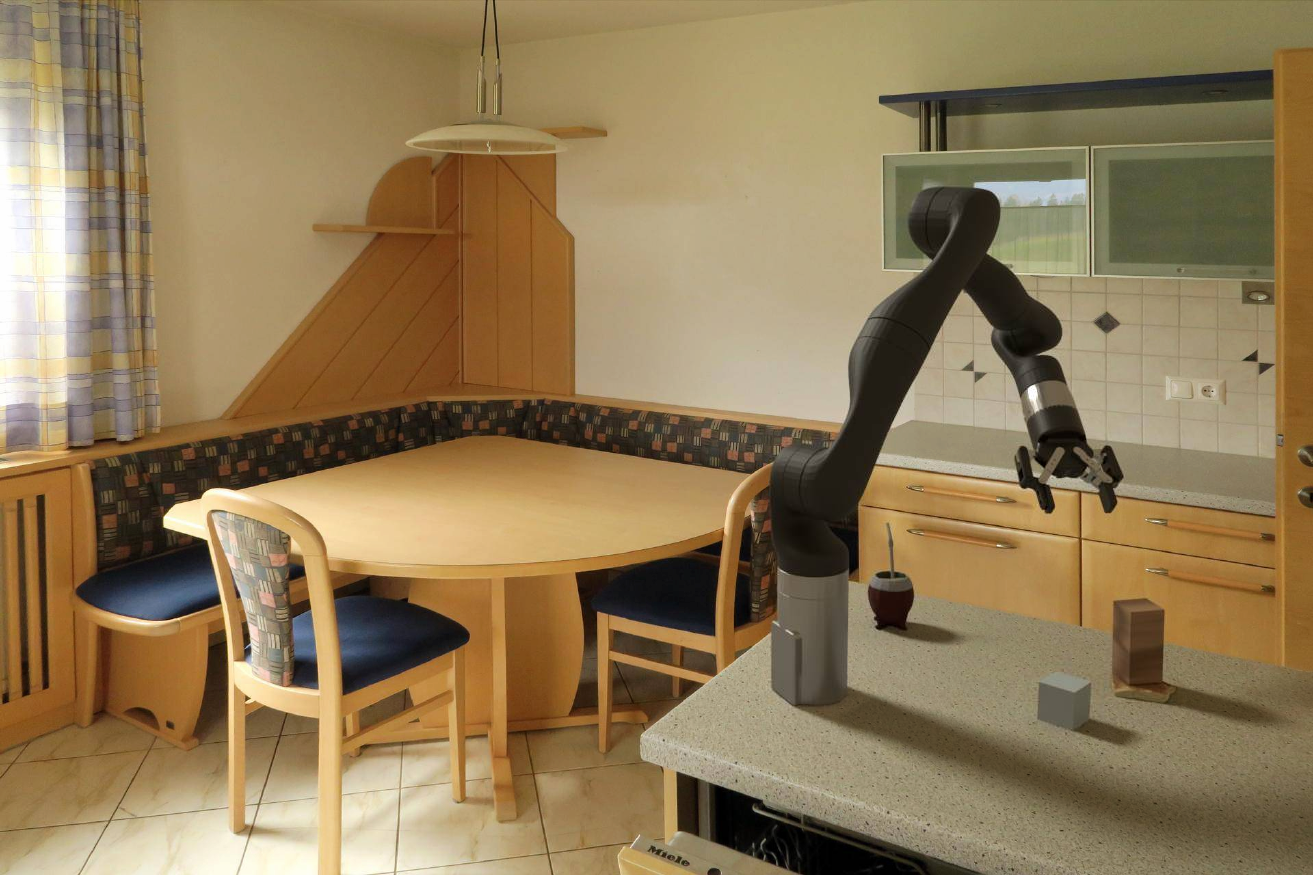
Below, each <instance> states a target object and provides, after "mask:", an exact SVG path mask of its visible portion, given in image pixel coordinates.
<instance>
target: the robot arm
mask: <svg viewBox="0 0 1313 875" xmlns="http://www.w3.org/2000/svg"><path fill="white" fill-rule="evenodd" d="M999 200H1000V199H999V198H998V196H997V195H996V194H995V193H994V192H992V191H991V190H989V189H987V188H986V189H985V188H981V187H973V186H972V187H971V186H969V187H967V186H966V187H965V186H932V187H928V188H927V187H926V188H925V189H922V190H920V192H918V193H917V194H916V195H915V197H914V198H913V200H912V202H911V203H910V206H909V210H908V214H907V229H908V232H909V233H908V234H909V236H910V239H911V240H912V241H911V242H913V243H914V245H915V246H916V248H917V249H918V250H919V251H920V252H922V253H923V254H924V255H925V256H926V257H928V258H929V259H930V261H931V262H930V263H929V264H928V265H927V266H926V267H925V268H924V269H923V270H922V271H921V272H920V273H918V274H917V275H916V276H914V277H913V278H912V279H910V280H909V281H908V282H906V283H905V284H903V285H902V286H901V287H899V288H898V289H897V290H895V291H893V293H891V294H889V295H888V296H887V297H886V298H885V299H883V301H881V302H880V303H879V304H877V306H876V307H875V308H873V310H872V311H871V312H870V314H869V316H868V317H867V319H866V321H865V322H864V325H863V326H862V328H861V330H860V332H859V334H858V336H857V337H856V339H855V341H854V343H853V345H852V347H851V350H850V352H849V356H848V363H847V370H848V372H847V375H848V376H847V377H848V386H849V407H848V411H847V414H846V418H845V419H844V421H843V424H842V425H841V427H840V430H839V432H838V434H837V436H836V438H835V439H834V440H833V442H832V443H831V445H830V446H829V447H828V446H823V445H822V446H821V445H817V444H816V445H815V444H811V443H804V442H793V443H791V444H788V445H786V446H784V447H782V449H781V450H780V451H779V452H778V454H777V455H776V456H775V459H774V460H773V463H772V467H771V470H770V474H769V475H770V476H769V481H768V482H769V487H768V492H769V493H768V495H769V496H768V497H769V498H768V499H769V514H770V515H769V517H770V537H771V542H772V543H771V544H772V546H773V548H774V551H775V553H776V557H777V558H776V560H777V588H776V589H777V592H776V593H777V595H776V596H777V605H776V606H777V609H776V610H777V612H776V613H777V616H776V617H777V619H775V620H772V621H771V623H770V624H771V625H770V626H771V627H770V638H771V639H770V641H771V642H770V652H771V653H770V661H771V663H770V670H771V671H770V674H771V675H770V678H771V679H770V688H771V689H772V690H773V691H774V692H776V693H777V694H778V695H779V696H781V697H782V698H783V699H785V700H786V701H787V702H789V704H791V705H794V706H796V705H797V706H798V705H812V706H816V705H818V706H819V705H820V706H823V705H829V704H834V703H837V702H839V701H841V700H843V699H844V698H845V697H846V696H847V694H848V656H849V655H848V653H849V652H848V651H849V650H848V649H849V648H848V647H849V593H850V592H849V588H850V587H849V586H850V583H849V582H850V578H849V576H850V554H849V553H850V552H849V548H848V547H847V545H846V543H845V542H843V540H841V538H839V537H838V536H836V534H834V532H833V531H832V530H831V528H829V526H828V523H827V522H829V523H836V522H840V521H843V520H845V519H846V518H847V517H849V516H850V515H851V514H852V513H853V512H854V510H855V508H856V507H857V506H858V505H859V503H860V501H861V500H862V497H863V495H864V494H865V491H866V489H867V486H868V483H869V481H870V479H871V477H872V474H873V471H874V469H875V466H876V463H877V461H878V458H879V457H880V456H879V455H880V453H881V451H882V449H883V446H884V445H885V444H884V443H885V442H886V439H887V436H888V434H889V432H890V429H891V428H892V425H893V422H894V421H895V419H896V417H897V415H898V414H899V411H900V409H901V407H902V404H903V403H904V400H905V398H906V396H907V394H908V392H909V390H910V389H911V386H912V384H913V383H914V381H915V380H916V378H917V376H918V375H919V373H920V371H921V369H922V367H923V365H924V363H925V361H926V360H927V357H928V356H929V353H930V351H931V349H932V347H933V345H934V343H935V341H936V338H937V337H938V334H939V332H940V330H941V328H942V326H943V324H944V322H946V319H947V317H948V315H949V313H950V312H951V310H952V308H953V306H954V304H955V303H956V301H957V299H958V297H959V296H960V294H961V293H962V291H965V293H966V294H967V295H968V296H969V297H970V299H972V301H973V302H974V303H975V305H976V307H977V308H978V309H979V311H980V312H981V314H982V315H983V316H984V318H985V319H986V320H987V322H988V323H989V325H990V326H992V327H993V329H992V331H991V334H990V341H991V345H992V348H993V349H994V351H995V353H996V354H997V355H998V357H999V358H1000V360H1001V361H1002V362H1003V363H1004V365H1005V366H1006V367H1007V369H1008V370H1009V372H1010V374H1011V375H1012V378H1013V380H1014V382H1015V385H1016V389H1017V392H1018V396H1019V398H1020V403H1021V408H1022V409H1021V410H1022V414H1023V420H1024V423H1025V425H1026V428H1027V432H1028V435H1029V439H1030V442H1031V446H1032V449H1028V447H1027V446H1025V445H1020V446H1019V447H1018V449H1017V451H1016V452H1015V454H1014V457H1013V458H1014V464H1015V468H1016V474H1017V478H1018V484H1019V487H1020V488H1021V489H1023V490H1026V489H1031V490H1033V491H1034V492H1035V494H1036V499H1037V502H1038V504H1039V507H1040V509H1041V510H1042V511H1044V514H1045V515H1046V514H1047V515H1048V514H1049V515H1051V514H1052V513H1053V512H1054V510H1055V509H1056V503H1055V499H1054V496H1053V493H1052V490H1051V486H1050V484H1047V483H1048V481H1049V479H1050V477H1051V476H1053V477H1055V478H1056V479H1065V478H1070V479H1078V478H1079V479H1081V480H1082V481H1083V482H1084V483H1086V484H1091V486H1093V487H1094V488H1095V489H1097V490H1098V492H1097V494H1098V497H1099V500H1100V502H1101V506H1102V509H1103V512H1104V513H1105V514H1112V513H1113V511H1114V510H1115V508H1116V506H1117V505H1118V499H1117V496H1116V493H1115V490H1114V489H1116V488H1117V487H1118V486H1119V484H1120V483H1121V481H1123V480H1124V473H1123V470H1122V468H1121V467H1120V464H1119V462H1118V459H1117V457H1116V454H1115V451H1114V449H1113V448H1112V446H1110V445H1108V444H1105V445H1104V446H1103V448H1097V449H1095V448H1094V449H1093V448H1092V446H1089V443H1088V442H1087V440H1088V439H1087V436H1086V431H1085V428H1084V426H1083V423H1082V418H1081V416H1080V413H1079V410H1078V408H1077V404H1076V401H1075V399H1074V396H1073V395H1072V394H1073V393H1072V392H1071V391H1070V388H1069V386H1068V383H1067V380H1066V377H1065V375H1064V370H1063V368H1062V365H1061V363H1060V361H1059V360H1058V359H1057V358H1056V357H1054V356H1052V355H1049V354H1042V353H1045V352H1048V351H1050V350H1053V349H1055V347H1058V345H1059V344H1060V342H1061V341H1062V337H1063V327H1062V323H1061V322H1060V319H1059V318H1058V316H1057V315H1056V314H1055V312H1053V310H1051V309H1050V308H1049V307H1048V306H1046V305H1045V304H1043V303H1042V302H1041V301H1039V300H1036V299H1035V298H1034V297H1032V296H1031V295H1029V293H1028V292H1027V290H1026V289H1025V286H1024V285H1023V284H1022V282H1021V280H1020V279H1019V278H1018V276H1017V275H1016V274H1015V273H1014V272H1013V271H1012V270H1011V269H1010V268H1009V267H1008V266H1006V265H1005V264H1004V263H1002V262H1001V261H1000V260H998V259H996V258H994V257H993V256H992V255H991V254H988V251H989V250H990V248H991V246H992V244H993V242H994V239H995V237H996V234H997V232H998V229H999V227H1000V226H999V225H1000V222H1001V221H1000V220H1001V213H1002V212H1001V203H1000V201H999ZM1033 460H1034V462H1036V463H1037V464H1038V465H1039V466H1040V467H1042V468H1043V471H1042V472H1041V474H1040V475H1039V477H1037V476H1034V474H1033V469H1032V464H1031V463H1032V462H1033ZM1087 468H1088V469H1089V472H1087V471H1086V470H1087Z"/></svg>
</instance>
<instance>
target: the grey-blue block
mask: <svg viewBox="0 0 1313 875" xmlns="http://www.w3.org/2000/svg"><path fill="white" fill-rule="evenodd" d="M1037 696H1038V697H1037V698H1038V699H1037V700H1038V701H1037V717H1036V720H1039V721H1042V722H1044V723H1047V724H1051V725H1053V726H1056V727H1060V728H1062V729H1065V730H1068V731H1074V730H1076V729H1077V728H1079V727H1080V726H1082V725H1083V724H1085V723H1086V722H1087V721H1089V720H1090V714H1091V713H1090V711H1091V699H1092V698H1091V696H1092V681H1091V680H1086V679H1083V678H1080V677H1077V676H1073V675H1070V674H1067V673H1063V672H1060V671H1054V672H1053V673H1052V674H1050V675H1048V676H1047V677H1044V678H1043V679H1041V680H1039V682H1038V695H1037Z"/></svg>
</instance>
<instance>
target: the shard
mask: <svg viewBox="0 0 1313 875" xmlns="http://www.w3.org/2000/svg"><path fill="white" fill-rule="evenodd" d="M1111 686H1112V689H1113V694H1114V697H1120V698H1126V699H1127V698H1128V699H1135V700H1142V701H1149V702H1156V703H1165V702H1166V701H1168V700H1169V698H1170V695H1171V694H1173V693H1175V692H1176V688H1177V687H1175V686H1174V685H1172V684H1170V683H1168V682H1166V681H1164V680H1163V682H1159V683H1147V684H1135V685H1128V684H1127V683H1126V682H1125V681H1123V680H1122V679H1121V678H1120V677H1118V676H1117V675H1116V674H1115V673H1113V672H1112V671H1111Z"/></svg>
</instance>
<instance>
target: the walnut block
mask: <svg viewBox="0 0 1313 875" xmlns="http://www.w3.org/2000/svg"><path fill="white" fill-rule="evenodd" d="M1112 601H1113V602H1112V611H1113V612H1112V648H1111V649H1112V650H1111V651H1112V652H1111V654H1112V655H1111V673H1112V672H1113V673H1115V674H1116V675H1117V676H1118V677H1120V678H1121V679H1122V680H1123V681H1125V682H1126V683H1127V684H1128V685H1135V684H1147V683H1159V682H1163V681H1164V680H1163V678H1164V676H1163V675H1164V647H1165V645H1164V643H1165V642H1164V641H1165V640H1164V639H1165V614H1166V613H1165V612H1166V611H1165V609H1164V607H1161V606H1160V605H1159V604H1156V603H1155V602H1153V601H1152V600H1150V599H1149V598H1146V597H1144V598H1143V597H1142V598H1141V597H1140V598H1131V599H1129V598H1128V599H1120V600H1112Z"/></svg>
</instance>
